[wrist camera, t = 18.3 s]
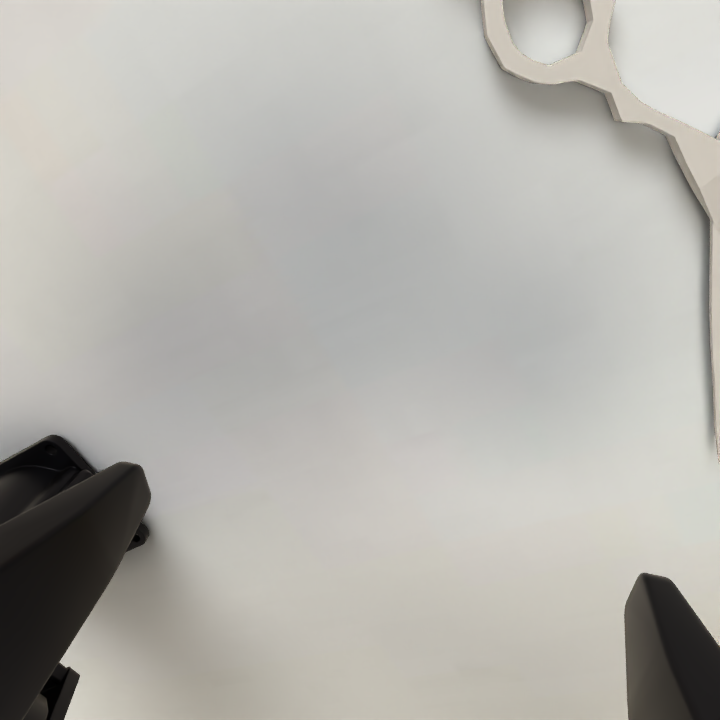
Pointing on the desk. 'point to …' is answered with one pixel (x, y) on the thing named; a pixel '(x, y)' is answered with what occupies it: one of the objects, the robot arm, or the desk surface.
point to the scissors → (598, 71)
